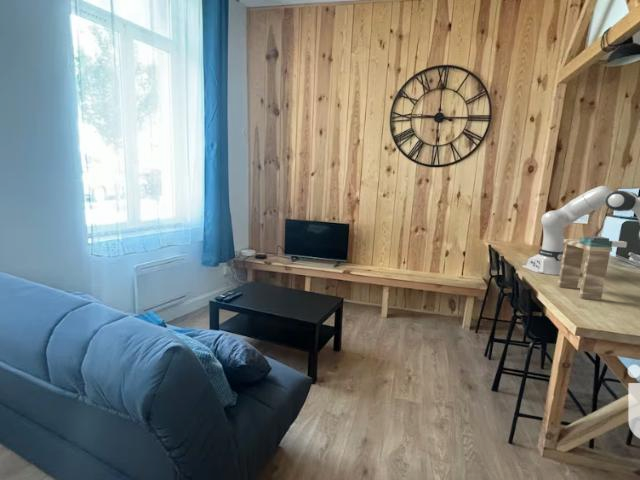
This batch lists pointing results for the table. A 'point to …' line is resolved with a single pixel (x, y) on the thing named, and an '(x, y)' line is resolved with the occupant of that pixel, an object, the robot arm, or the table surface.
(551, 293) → the table surface
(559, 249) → the robot arm
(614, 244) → the beige and grey block
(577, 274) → the brown and teal frame
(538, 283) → the table surface
